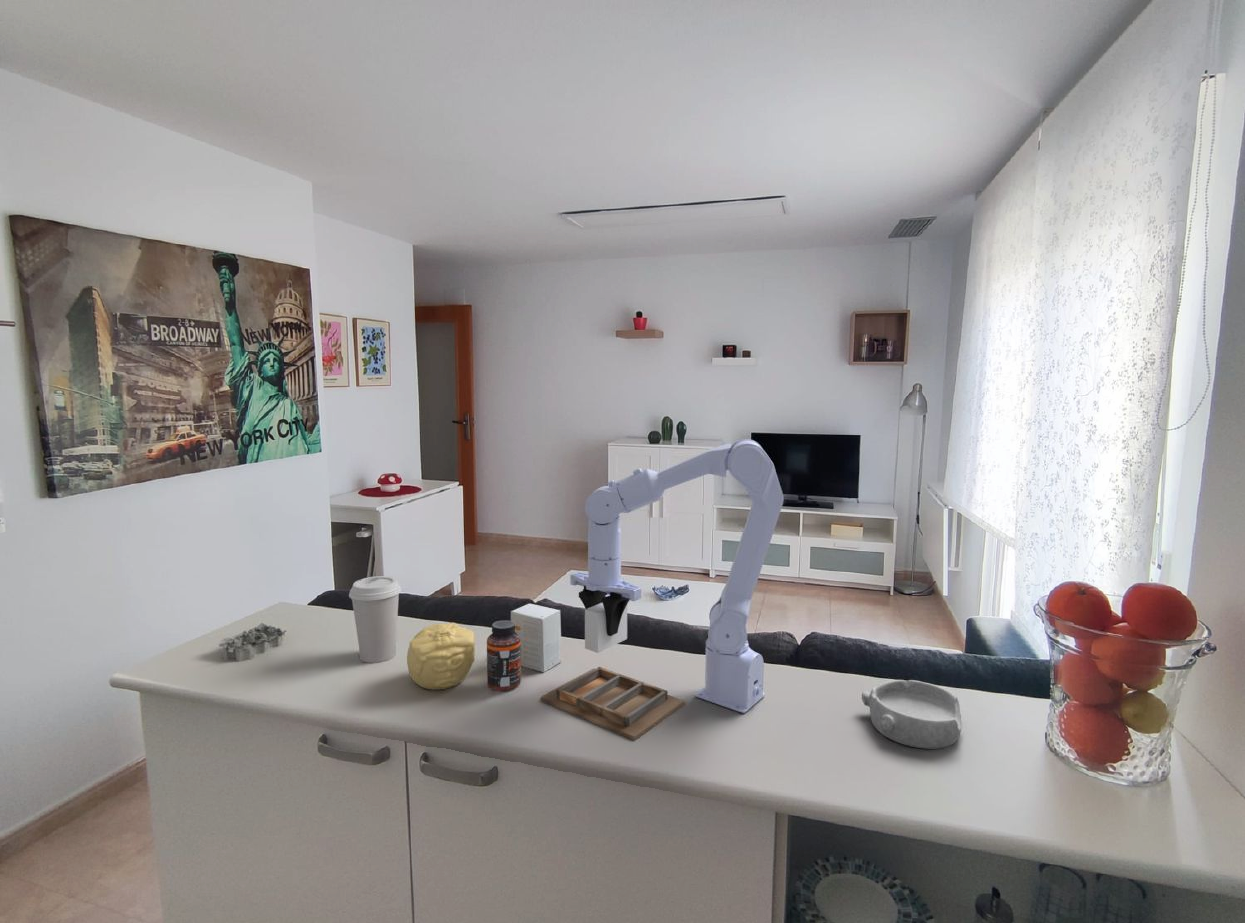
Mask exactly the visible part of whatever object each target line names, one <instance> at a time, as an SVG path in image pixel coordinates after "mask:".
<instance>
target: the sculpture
mask: <svg viewBox="0 0 1245 923" xmlns="http://www.w3.org/2000/svg"><path fill="white" fill-rule="evenodd" d="M475 644H476V642H475V633H474V631H473V630H471V629H468V628H466V627H462V626H460V625H458V624H457V623H456V622H450V623H435V624H431V625H429V626H427V627H424V628H423V629H421V630H420V631H418V633H416V635H414V637H413V638H412V639H411V640H410V642H409V646H408V649H407V656H406V664H407V665H406V666H407V669H408V672H409V675H410V677H411V679H412V680H413V681H414V683H416V684H417V685H418V686H420V687H421V688H424V689H426V690H431V691H435V690H436V691H437V690H446V689H450V688H453V687H455V686H457V685H459V684H461V683H462V682H463V681H464V680H465V679H466V677H467V676H468V675H469V673H470V671H471V669H472V666H473V663H474V662H475V655H476V654H475V653H476V650H475Z"/></svg>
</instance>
